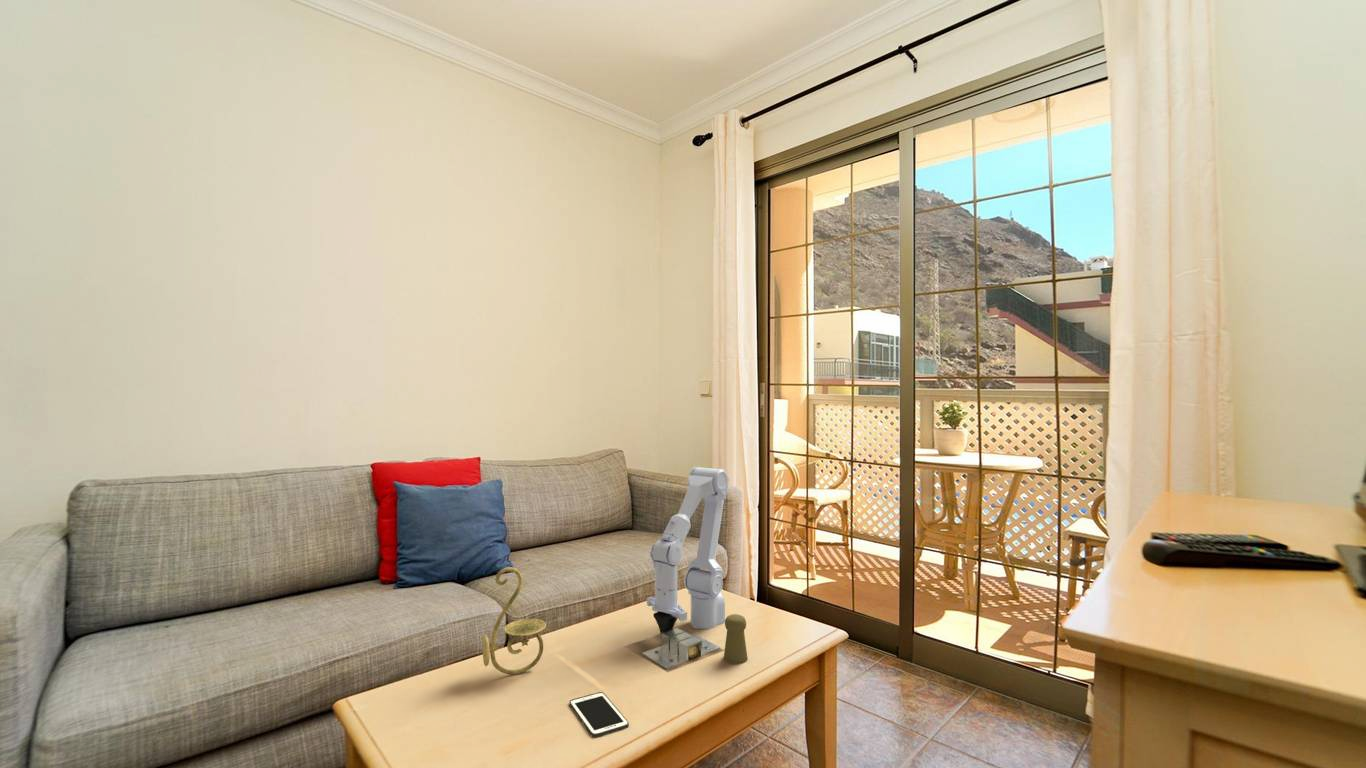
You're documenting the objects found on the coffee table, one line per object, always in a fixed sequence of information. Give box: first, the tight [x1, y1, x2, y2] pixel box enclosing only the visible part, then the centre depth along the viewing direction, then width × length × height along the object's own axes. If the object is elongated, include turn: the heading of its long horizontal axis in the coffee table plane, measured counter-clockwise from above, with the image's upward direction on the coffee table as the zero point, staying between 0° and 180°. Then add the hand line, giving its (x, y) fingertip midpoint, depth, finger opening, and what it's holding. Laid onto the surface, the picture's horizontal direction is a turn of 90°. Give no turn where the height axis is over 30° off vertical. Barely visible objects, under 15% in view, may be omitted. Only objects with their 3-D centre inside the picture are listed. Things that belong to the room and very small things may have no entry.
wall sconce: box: [481, 566, 547, 676], centre depth 136 cm, size 14×10×25 cm
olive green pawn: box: [723, 613, 748, 665], centre depth 142 cm, size 6×6×11 cm
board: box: [624, 627, 725, 673], centre depth 148 cm, size 18×18×1 cm
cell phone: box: [569, 691, 630, 739], centre depth 119 cm, size 8×15×1 cm, turn 30°
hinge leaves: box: [642, 627, 721, 669], centre depth 146 cm, size 17×10×4 cm, turn 129°
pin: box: [688, 646, 698, 659], centre depth 146 cm, size 10×3×3 cm, turn 39°
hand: (666, 640), depth 151 cm, fingers closed
